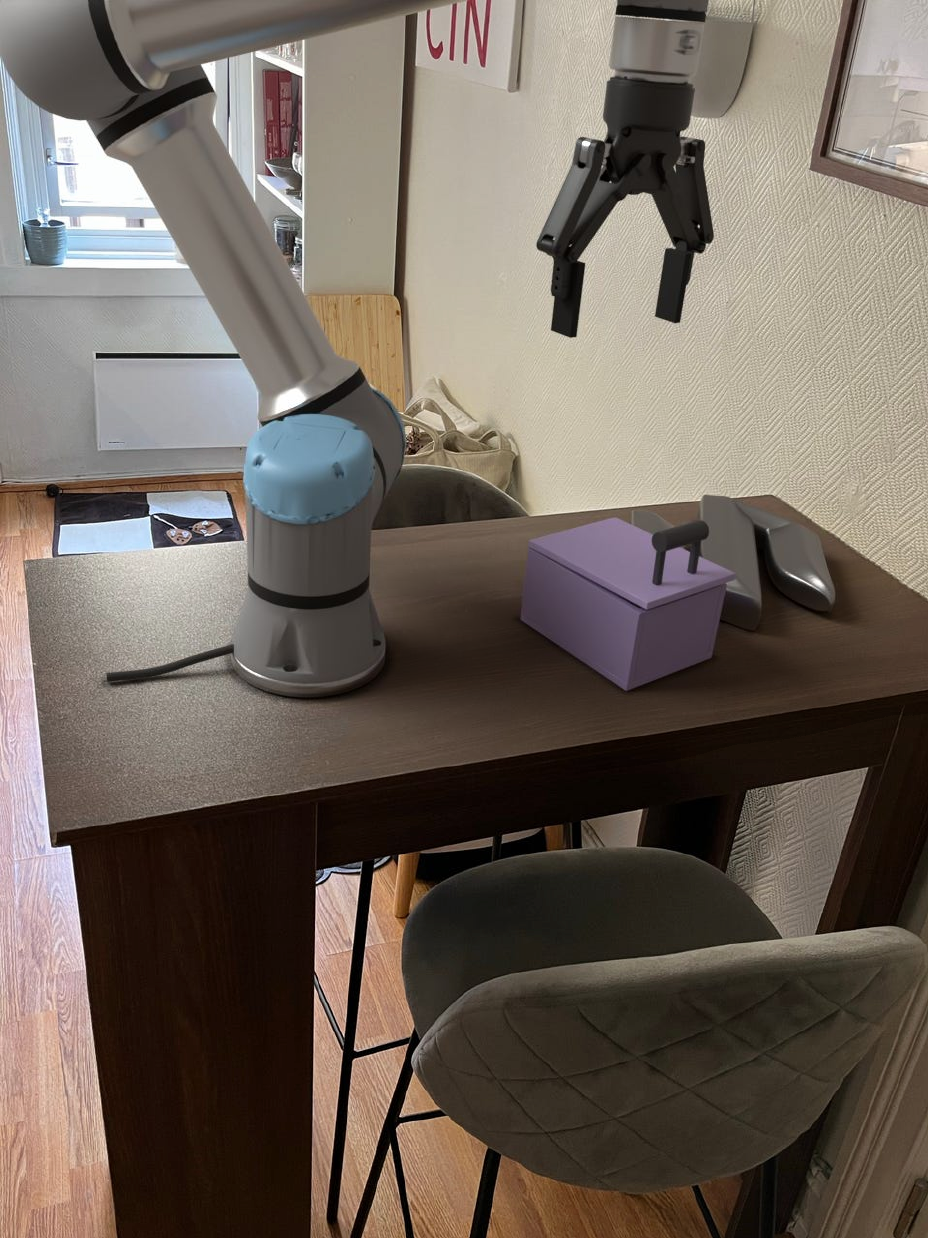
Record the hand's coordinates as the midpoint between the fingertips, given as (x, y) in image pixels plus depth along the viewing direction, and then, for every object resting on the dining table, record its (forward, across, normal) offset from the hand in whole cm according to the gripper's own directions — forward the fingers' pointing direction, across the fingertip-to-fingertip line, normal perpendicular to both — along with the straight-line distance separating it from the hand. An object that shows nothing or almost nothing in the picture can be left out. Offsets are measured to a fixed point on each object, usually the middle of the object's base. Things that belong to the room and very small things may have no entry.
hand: (617, 326), depth 105 cm
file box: (+33, +2, -4) cm, 33 cm away
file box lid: (+23, +2, -4) cm, 24 cm away
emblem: (+33, +25, +1) cm, 41 cm away
